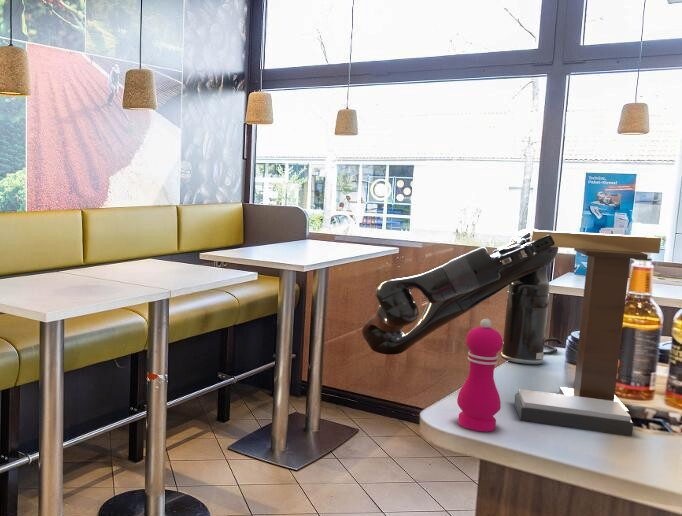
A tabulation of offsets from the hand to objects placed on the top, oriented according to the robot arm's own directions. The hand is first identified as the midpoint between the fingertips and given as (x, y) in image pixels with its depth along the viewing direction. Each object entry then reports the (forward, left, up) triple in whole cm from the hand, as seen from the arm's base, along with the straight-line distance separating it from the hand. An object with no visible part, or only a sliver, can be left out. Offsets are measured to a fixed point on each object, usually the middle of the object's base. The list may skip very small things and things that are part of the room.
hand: (549, 237), depth 142 cm
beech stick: (0, +8, -2) cm, 8 cm away
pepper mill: (+24, -12, -34) cm, 43 cm away
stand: (0, +11, -34) cm, 35 cm away
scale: (+12, +5, -34) cm, 36 cm away
